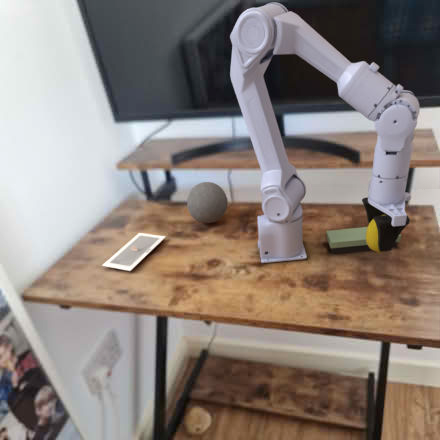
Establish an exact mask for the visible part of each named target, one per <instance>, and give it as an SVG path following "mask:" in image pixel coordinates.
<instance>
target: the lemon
mask: <svg viewBox="0 0 440 440" xmlns="http://www.w3.org/2000/svg"><path fill="white" fill-rule="evenodd" d="M382 216H386V215H382ZM367 227H368V228H367V231H366V242H367V245H368V246H369V247H370V248H371V249H372V250H371V251H373V252H376V253H377V254H381V253H385V252H386V251H383V252H380V251H379V247H378V230H377V226H376V223H375V221H374V219H373V220H372V221H371V222H370V223H369V225H368V224H367Z"/></svg>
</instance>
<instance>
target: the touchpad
mask: <svg viewBox="0 0 440 440" xmlns="http://www.w3.org/2000/svg"><path fill="white" fill-rule="evenodd" d="M166 237H167V236H166V235H158V234H151V233H143V232H138V233H137V234H136V235H135V236H134V237H132V238H131V239H130V240H129V241H128V242H127V243H125V244H124V245H123V246H122V247H121V248H120V249H119V250H118V251H116V252H115V253H114V254H113V255H112V256H111V257H109V259H107V260H106V261H105V262H104V263H103V264H102V265H101V266H102V267H107V268H112V269H118V270H121V271H122V270H123V271H127V272H131V271H132V270H133V269H134V268H135V267H136V266H137V265H138V264H139V263H140V262H141V261H142V260H143V259H145V257H146V256H147V255H149V254H150V253H151V252H152V251H153V250H154V249H155V248H157V246H158V245H159V244H160V243H161V242H162V241H163V240H164V239H165V238H166Z"/></svg>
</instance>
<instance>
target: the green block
mask: <svg viewBox="0 0 440 440" xmlns="http://www.w3.org/2000/svg"><path fill="white" fill-rule="evenodd" d="M367 228H368V226H362V227H353V228H352V227H351V228H342V229H332V230H331V229H330V230H326V231H325V237H326V239H327V245H328V247H329V249H330V252H331V254H332V255H333V254H343V253H354V252H365V251H366V252H367V251H373V250H372V249H371V248H370V247H369V246H368V245H367V242H366V231H367ZM401 240H402V235H401V233H400V234H399V236H398V238H397V240H396V242H395V244H394V246H393V248H392V249H397V247H398V243H400V242H401Z"/></svg>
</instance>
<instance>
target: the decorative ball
mask: <svg viewBox="0 0 440 440" xmlns="http://www.w3.org/2000/svg"><path fill="white" fill-rule="evenodd" d="M186 200H187V201H186V204H187V210H188V212H189V215H190V216H191V217H192V218H193V219H194V220H196V221H197V222H199V223H202V224H213V223H215V222H218V221H219V220H221V218H223V217H224V215H225V214H226V211H227V209H228V197H227V194H226V192H225V190H224V188H222V187H221V186H220V185H218V184H217V183H215V182H211V181H204V182H200V183H197V184H196V185H194V186H193V187H192V188H191V190H190V191H189V193H188V195H187V199H186Z"/></svg>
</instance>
